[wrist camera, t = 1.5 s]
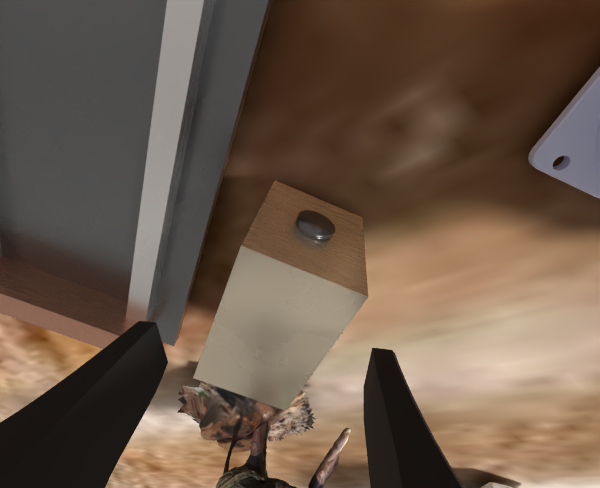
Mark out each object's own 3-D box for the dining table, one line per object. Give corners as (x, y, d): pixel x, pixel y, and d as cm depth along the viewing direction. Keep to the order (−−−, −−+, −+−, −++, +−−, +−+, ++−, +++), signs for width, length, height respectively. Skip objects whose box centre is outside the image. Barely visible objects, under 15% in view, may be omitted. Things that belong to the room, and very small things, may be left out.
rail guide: (321, -173, 8) (311, -248, 6) (178, 338, 19) (156, 376, 17) (-199, -459, 7) (-453, -689, 5) (-29, 263, 18) (-80, 293, 16)
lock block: (366, 211, 14) (373, 289, 9) (301, 321, 18) (286, 410, 13) (277, 173, 13) (243, 237, 9) (231, 294, 17) (193, 378, 13)
